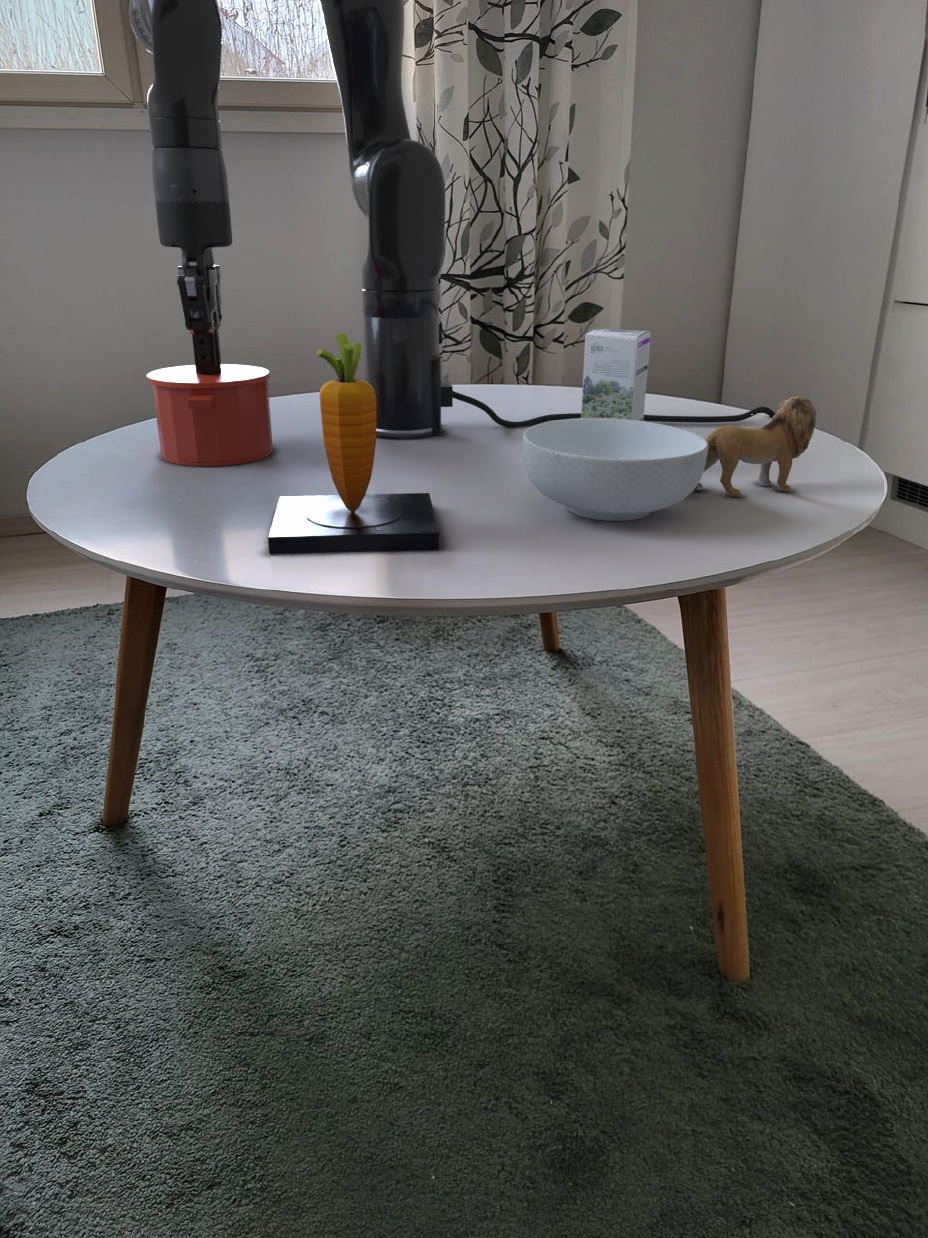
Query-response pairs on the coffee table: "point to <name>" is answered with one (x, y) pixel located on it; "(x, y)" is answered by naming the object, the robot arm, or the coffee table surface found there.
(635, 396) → the syrup box
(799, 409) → the lion figurine
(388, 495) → the hob plate
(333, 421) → the carrot
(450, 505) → the coffee table surface
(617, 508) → the cereal bowl
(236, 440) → the pot
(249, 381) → the pot lid
